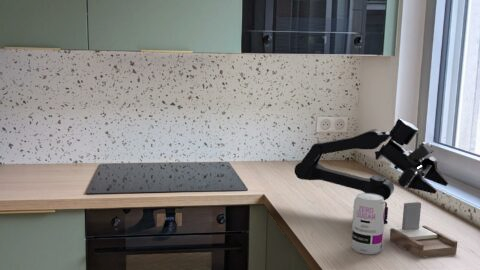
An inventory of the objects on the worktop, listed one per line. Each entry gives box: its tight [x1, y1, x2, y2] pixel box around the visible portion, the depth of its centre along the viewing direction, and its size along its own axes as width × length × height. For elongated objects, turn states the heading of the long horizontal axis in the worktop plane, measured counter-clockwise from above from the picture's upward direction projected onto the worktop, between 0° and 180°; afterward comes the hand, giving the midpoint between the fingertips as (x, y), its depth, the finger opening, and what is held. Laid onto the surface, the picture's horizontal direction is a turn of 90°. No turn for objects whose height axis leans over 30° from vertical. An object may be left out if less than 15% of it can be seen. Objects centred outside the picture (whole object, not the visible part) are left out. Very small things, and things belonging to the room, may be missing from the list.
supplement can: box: [350, 192, 386, 256], centre depth 144 cm, size 8×8×15 cm
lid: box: [396, 201, 437, 240], centre depth 151 cm, size 6×9×9 cm
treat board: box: [389, 225, 458, 259], centre depth 149 cm, size 14×12×4 cm
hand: (441, 188), depth 158 cm, fingers open, 9 cm apart
